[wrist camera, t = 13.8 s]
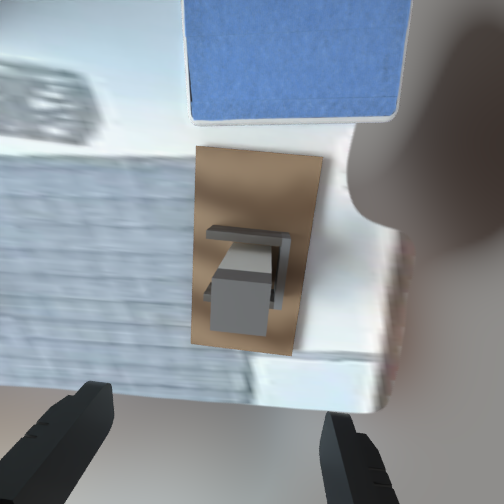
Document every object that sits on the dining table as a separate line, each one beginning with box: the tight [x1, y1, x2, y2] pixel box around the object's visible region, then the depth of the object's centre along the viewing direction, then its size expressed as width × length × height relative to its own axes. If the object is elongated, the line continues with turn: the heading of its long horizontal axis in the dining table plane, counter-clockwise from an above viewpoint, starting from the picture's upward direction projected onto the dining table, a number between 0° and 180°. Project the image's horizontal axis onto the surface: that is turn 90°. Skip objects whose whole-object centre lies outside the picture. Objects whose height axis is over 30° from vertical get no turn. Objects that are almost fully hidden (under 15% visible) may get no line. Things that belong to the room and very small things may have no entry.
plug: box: [210, 243, 272, 337], centre depth 22 cm, size 4×4×10 cm
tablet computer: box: [181, 0, 413, 126], centre depth 22 cm, size 19×13×1 cm, turn 90°
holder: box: [191, 146, 323, 356], centre depth 26 cm, size 22×12×4 cm, turn 175°
